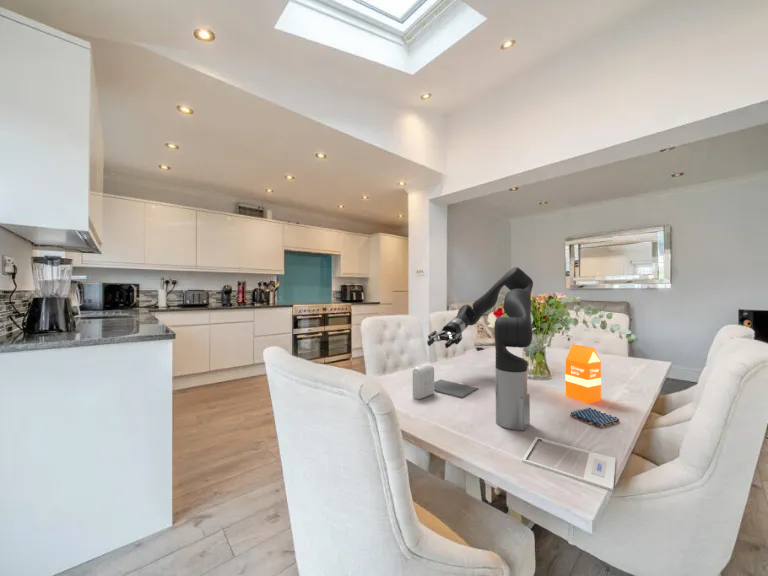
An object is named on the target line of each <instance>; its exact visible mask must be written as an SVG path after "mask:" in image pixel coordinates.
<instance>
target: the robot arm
mask: <svg viewBox="0 0 768 576" xmlns="http://www.w3.org/2000/svg"><path fill="white" fill-rule="evenodd" d="M504 286H505V287H506V288H507V289H508V290H509V291H508V292H507V293H506V294H505V296H504V301H503V304H502V305H503V311H504V313H505V314H506V315H507V316H499V317H497V318H496V319H495V321H494V326H493V327H494V329H493V330H494V331H493V332H494V333H493V334H494V346H495V423H496V424H497V425H499V426H500V427H502V428H505V429H509V430H515V431H516V430H517V431H518V430H519V431H522V432H523V431H525V430H526V429H527V428H528V426H529V425H531V415H530V414H531V413H530V412H531V411H530V410H531V409H530V408H531V405H530V404H531V403H530V401H531V400H530V399H531V398H530V397H531V396H530V393H528V361H527V360H526V359H524V358H522V357H520V356H517V355H515V354H514V353H512V352H511V351H509V350H508V349H507V347H508V348H521V349H525V348H527V347H529V346H530V345H532V340H533V326H532V318H531V311H532V299H531V298H532V296H531V295H532V290H533V286H534V281H533V279H532V278H531V277H530V276H529V275H528V274H526V273H525V271H523V269H521V268H519V267H518V266H516V267H512V268H510V270H508V271H507V272H505V274H504V275H503V276H502V277H501V278H500V279H498V280H497V281H496V282H495V283H494V285H492V286H491V287H490V288H489V289H488V291H486V292H485V293H484V294H483V295H482V296H480V297H479V298H477V299H476V300H475V301H473V303H472V306H471V304H464V305H462V306H461V307H460V308H459V309H458V311H457V314H456V316H455V317H454V318H453V319H451V320H450V321H449V322H447V323H446V324H445V325H444V326H443V327H442V329H441V331H439V332H437V330H434V331H432V332H431V333H430V334H428V335H427V337H428V340H427V346H429V347H431V346H432V345H433V344H434V343H436V342H437V343H438V342H439V343H440V342H442V341H446V342H445V343H444V346H445V348H446V349H448V348H449V347H451V346H452V345H454V344H455V345H459V343H460V342H461V341H462V339H463V335H462V334H463V332H464V331H465V330H466V329H467V327H468V326H474V325H476V324H477V323H478V322H479V320H480V319H481V317H482V316H483V315H484V314H486V313H487V312H488V311H490V310H492V308H494V307H495V305H496V304H497V302H498V298H499V294H500V292H501V290H502V288H504Z"/></svg>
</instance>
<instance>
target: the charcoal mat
mask: <svg viewBox="0 0 768 576" xmlns="http://www.w3.org/2000/svg"><path fill="white" fill-rule="evenodd" d="M478 390H479V387H478V386H477V387H476V386H472V385H467V384H462V383H458V382H454V381H449V380H445V379H438V380H435V381H434V393H435V392H437V393H440V394H444V395H448V396H452V397H455V398H459V399H463V398H465V397H468V396H469V395H470V394H472V393H474V392H476V391H478Z"/></svg>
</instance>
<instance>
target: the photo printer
mask: <svg viewBox="0 0 768 576" xmlns="http://www.w3.org/2000/svg"><path fill="white" fill-rule="evenodd" d="M434 382H435V368H434V365H432V364H430V363H422V364H419V365H418V366H416V367H415V368H414V369H413V370H412V397H413V398H414V399H417V400H420V399H424V398H427V397H429V396H432V395H434V394H435V391H434Z"/></svg>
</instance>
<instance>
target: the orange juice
mask: <svg viewBox="0 0 768 576" xmlns="http://www.w3.org/2000/svg"><path fill="white" fill-rule="evenodd" d="M564 378H565V397H568V398H571V399H573V400H576V401H579V402H582V403H585V404H592V403H596V402H600V401H602V361H601V359H600V357H599V355H598V353H597V351H596V348H595V347H592V346H591V347H589V346H586V345H585V346H584V345H580V344H571V346H570V348H569V351H568V353H567V356H566V358H565V377H564Z"/></svg>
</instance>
